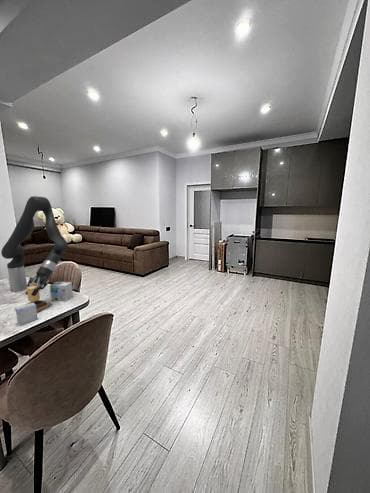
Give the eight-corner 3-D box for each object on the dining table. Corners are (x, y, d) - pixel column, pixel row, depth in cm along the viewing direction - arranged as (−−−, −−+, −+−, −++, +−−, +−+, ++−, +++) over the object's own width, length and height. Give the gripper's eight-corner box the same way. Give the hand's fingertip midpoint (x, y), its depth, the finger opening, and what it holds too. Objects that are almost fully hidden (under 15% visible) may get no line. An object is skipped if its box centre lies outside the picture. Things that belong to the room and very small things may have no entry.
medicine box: (35, 316, 110) (33, 302, 108) (38, 319, 107) (35, 304, 106) (17, 322, 104) (14, 307, 102) (19, 325, 101) (17, 310, 100)
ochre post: (28, 301, 116) (26, 288, 115) (35, 298, 120) (33, 285, 118) (33, 301, 115) (31, 288, 113) (40, 298, 119) (38, 286, 117)
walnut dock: (17, 312, 114) (16, 306, 114) (37, 302, 126) (36, 297, 125) (33, 315, 111) (32, 309, 111) (52, 305, 123) (51, 300, 122)
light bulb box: (51, 300, 129) (49, 285, 127) (57, 296, 135) (56, 281, 133) (67, 301, 128) (65, 285, 126) (73, 296, 135) (71, 281, 133)
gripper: (33, 265, 123) (15, 291, 114) (51, 267, 119) (34, 294, 110) (42, 270, 129) (26, 295, 120) (60, 272, 125) (44, 298, 116)
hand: (30, 294), depth 115 cm, fingers closed on ochre post, 4 cm apart
